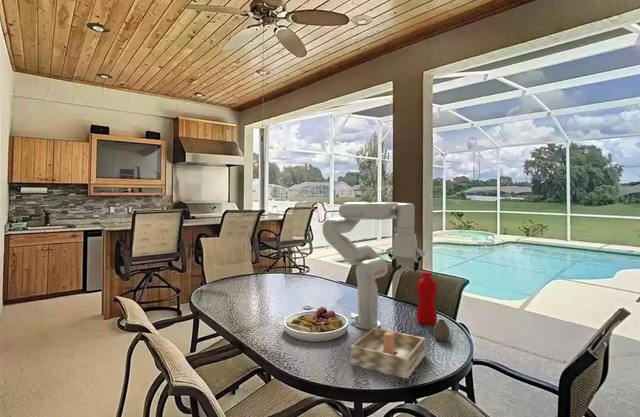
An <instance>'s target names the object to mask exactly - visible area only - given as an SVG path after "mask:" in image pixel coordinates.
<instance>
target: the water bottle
mask: <svg viewBox="0 0 640 417" xmlns="http://www.w3.org/2000/svg"><path fill="white" fill-rule="evenodd" d="M437 285H438V284H437V282H436V280H434V279H433V277H432V272H431V271H423V272H422V277H421V278H420V279H418V280H417V284H416V290H417V294H418V304H417V308H416V320H417V322H418V323H419V324H422V325H435V324H436V323H437V322H438V317H437V316H438V315H437V309H436V303H435V300H436V296H437V292H438V286H437Z"/></svg>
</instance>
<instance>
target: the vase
mask: <svg viewBox="0 0 640 417" xmlns="http://www.w3.org/2000/svg"><path fill="white" fill-rule="evenodd" d="M432 331H433V337H434V338H435V339H436V341H438V342H442V343H443V342H446V341H448V340H449V338H450V335H451V330H450V327H449V325H448V324H447V323H446V321H445V319H441V318H440V319H438V320H437V321H436V323H435V324H434V327H433V330H432Z"/></svg>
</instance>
